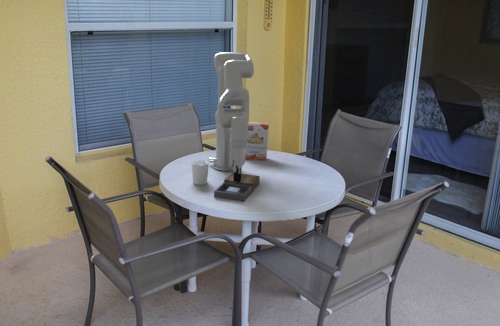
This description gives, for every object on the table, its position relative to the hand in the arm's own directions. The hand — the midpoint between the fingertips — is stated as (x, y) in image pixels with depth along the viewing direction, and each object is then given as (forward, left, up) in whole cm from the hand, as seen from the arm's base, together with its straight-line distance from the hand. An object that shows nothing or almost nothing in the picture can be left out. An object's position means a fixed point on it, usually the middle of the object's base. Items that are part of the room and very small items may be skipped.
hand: (237, 181), depth 227 cm
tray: (0, -5, -5) cm, 7 cm away
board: (0, +8, -5) cm, 9 cm away
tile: (0, -6, -2) cm, 6 cm away
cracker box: (-7, +53, -5) cm, 54 cm away
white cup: (-20, +4, -5) cm, 21 cm away
